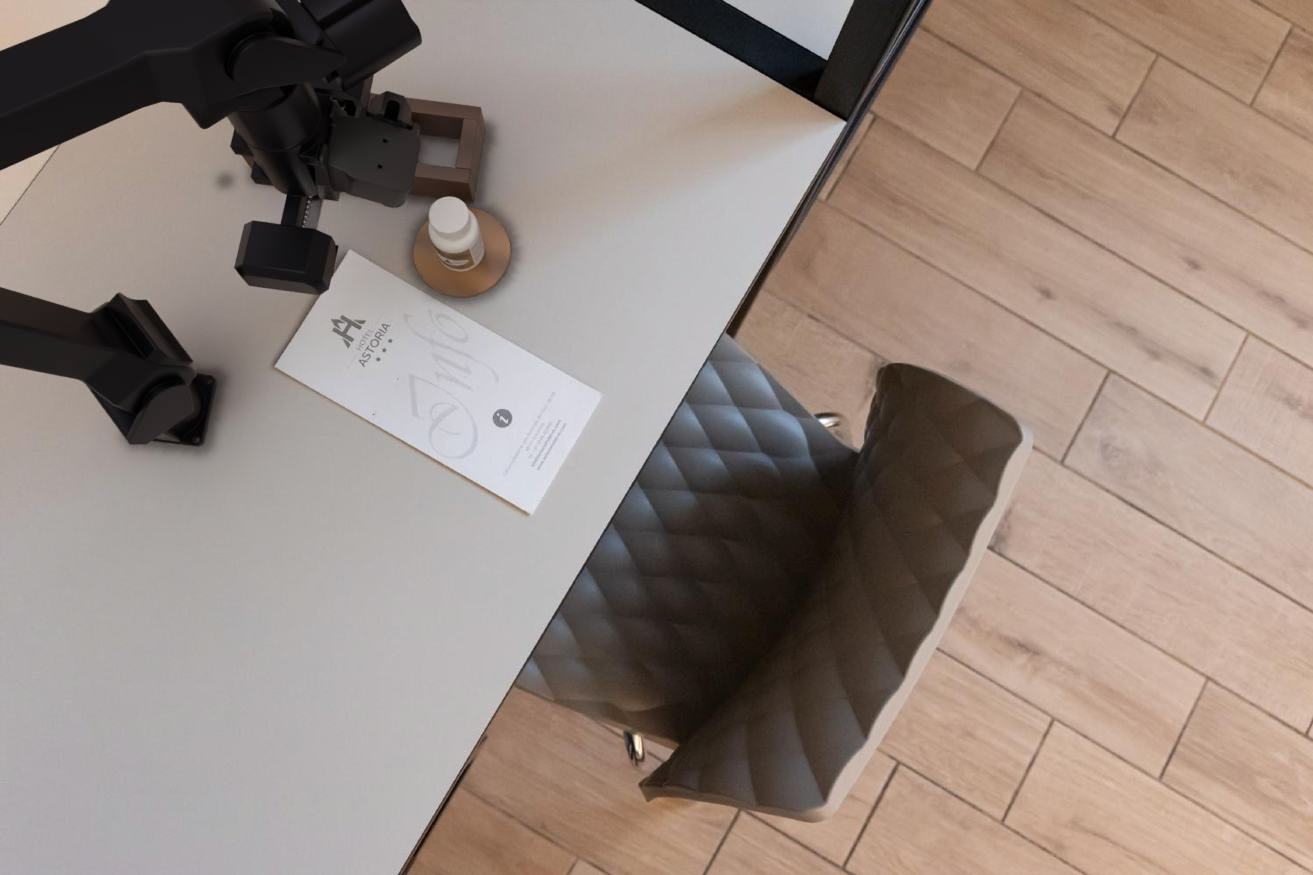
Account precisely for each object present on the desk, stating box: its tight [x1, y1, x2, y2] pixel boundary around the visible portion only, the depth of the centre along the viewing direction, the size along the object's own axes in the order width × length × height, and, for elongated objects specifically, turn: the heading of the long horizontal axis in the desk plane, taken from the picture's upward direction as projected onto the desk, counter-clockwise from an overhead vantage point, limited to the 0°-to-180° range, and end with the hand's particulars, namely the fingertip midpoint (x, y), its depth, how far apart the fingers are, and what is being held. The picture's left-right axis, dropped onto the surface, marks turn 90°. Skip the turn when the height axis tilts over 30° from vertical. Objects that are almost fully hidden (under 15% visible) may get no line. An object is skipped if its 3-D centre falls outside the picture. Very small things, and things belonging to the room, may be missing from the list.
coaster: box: [412, 206, 512, 298], centre depth 92 cm, size 9×9×1 cm
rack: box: [241, 92, 487, 203], centre depth 92 cm, size 8×21×4 cm, turn 84°
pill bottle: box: [428, 197, 484, 272], centre depth 88 cm, size 4×4×8 cm
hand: (334, 218), depth 80 cm, fingers open, 9 cm apart
